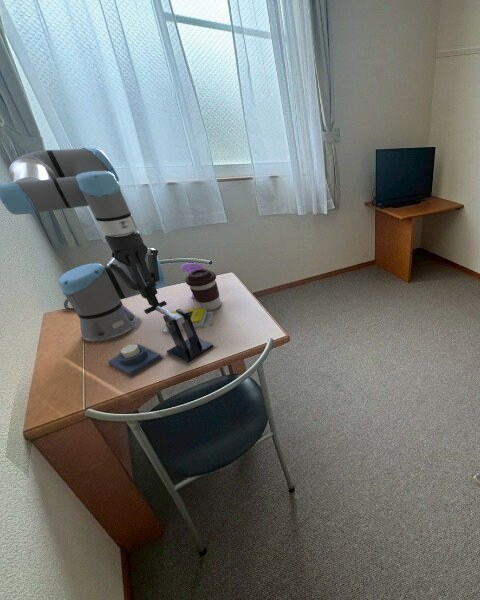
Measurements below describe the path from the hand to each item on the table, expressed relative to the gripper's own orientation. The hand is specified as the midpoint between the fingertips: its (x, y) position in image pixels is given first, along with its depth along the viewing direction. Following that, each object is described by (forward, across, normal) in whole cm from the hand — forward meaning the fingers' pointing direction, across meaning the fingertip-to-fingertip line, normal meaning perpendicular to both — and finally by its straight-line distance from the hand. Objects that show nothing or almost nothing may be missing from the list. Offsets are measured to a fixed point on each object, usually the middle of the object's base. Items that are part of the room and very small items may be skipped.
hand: (154, 304), depth 99 cm
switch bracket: (+15, 0, -10) cm, 18 cm away
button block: (+15, -11, 0) cm, 19 cm away
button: (+12, -11, 0) cm, 16 cm away
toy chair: (+15, +27, +20) cm, 37 cm away
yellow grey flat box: (+15, +10, +5) cm, 19 cm away
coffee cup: (+15, +21, +8) cm, 27 cm away
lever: (+3, 0, -5) cm, 6 cm away
